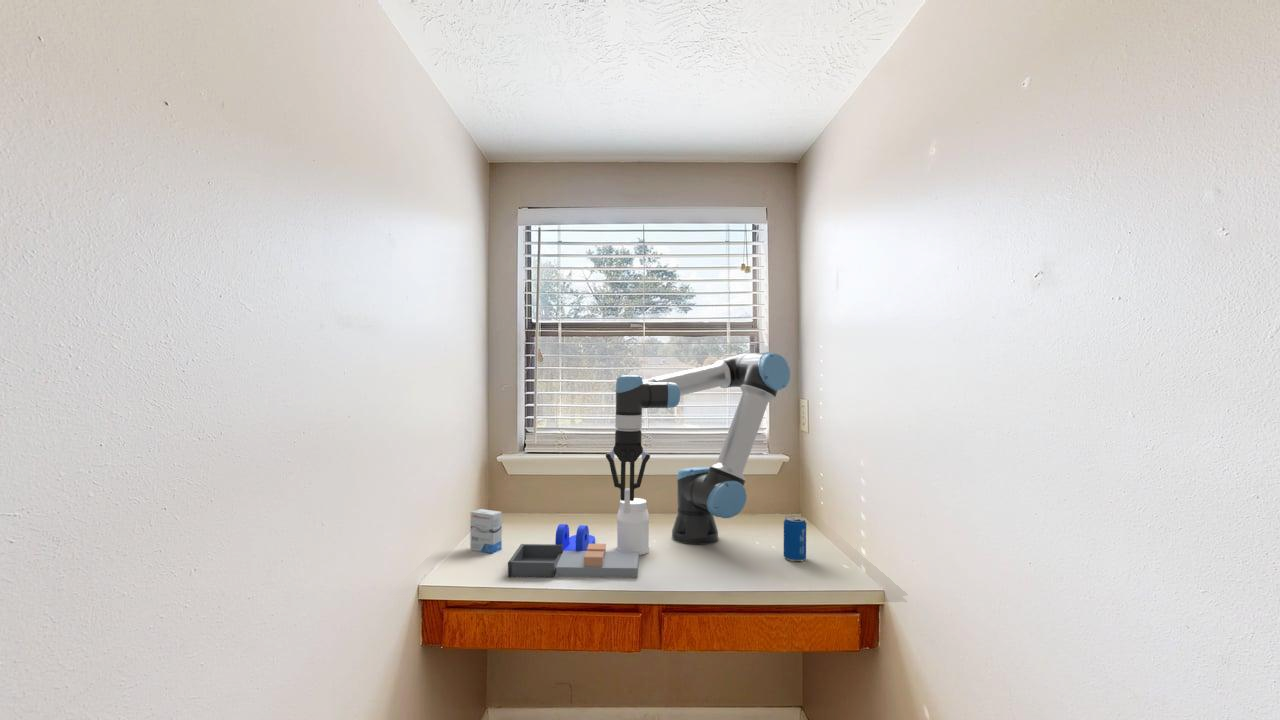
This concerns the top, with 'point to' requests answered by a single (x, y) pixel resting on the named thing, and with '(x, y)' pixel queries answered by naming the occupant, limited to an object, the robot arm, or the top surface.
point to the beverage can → (794, 538)
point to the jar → (633, 527)
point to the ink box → (486, 531)
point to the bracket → (574, 538)
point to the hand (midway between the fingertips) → (627, 511)
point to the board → (612, 566)
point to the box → (535, 561)
